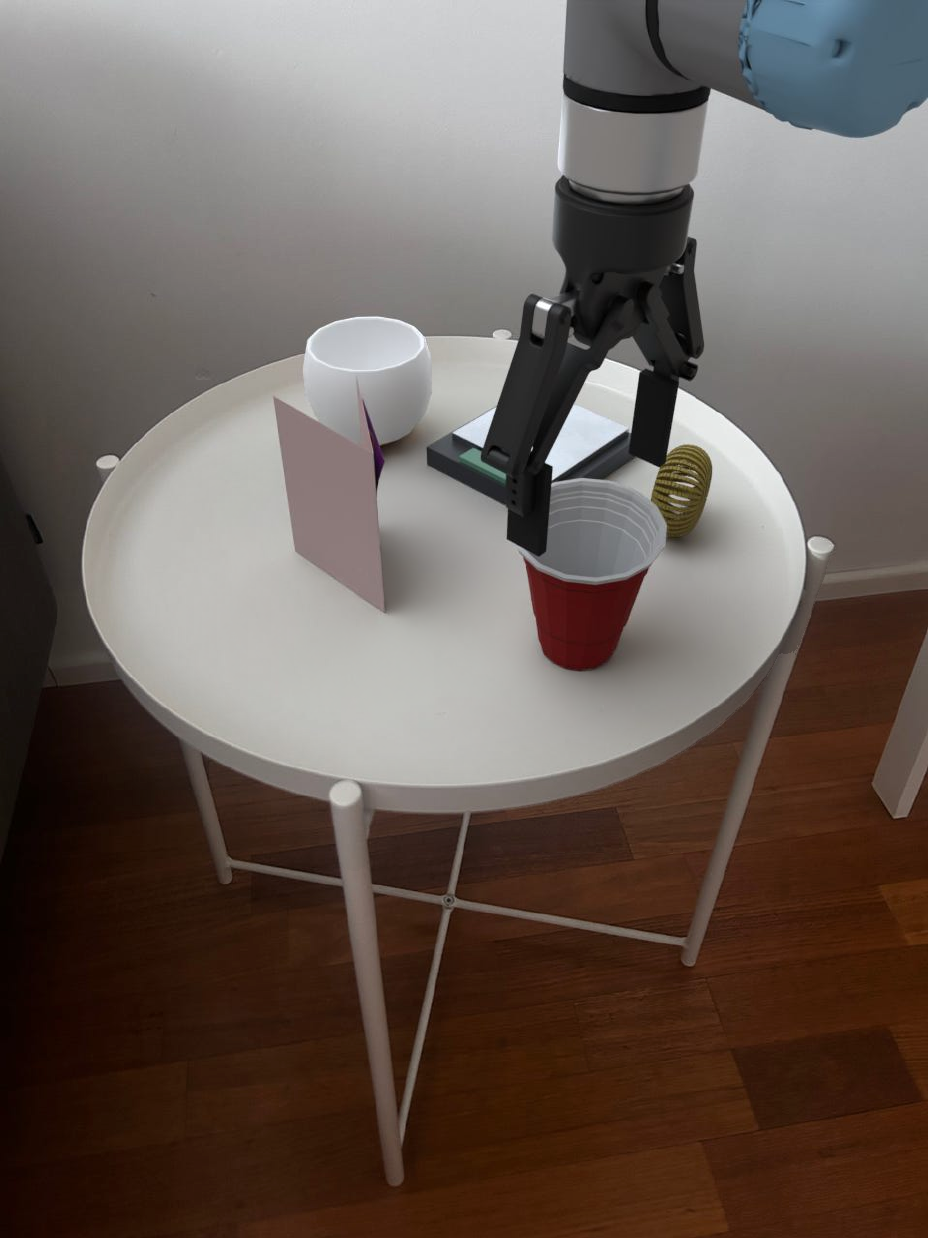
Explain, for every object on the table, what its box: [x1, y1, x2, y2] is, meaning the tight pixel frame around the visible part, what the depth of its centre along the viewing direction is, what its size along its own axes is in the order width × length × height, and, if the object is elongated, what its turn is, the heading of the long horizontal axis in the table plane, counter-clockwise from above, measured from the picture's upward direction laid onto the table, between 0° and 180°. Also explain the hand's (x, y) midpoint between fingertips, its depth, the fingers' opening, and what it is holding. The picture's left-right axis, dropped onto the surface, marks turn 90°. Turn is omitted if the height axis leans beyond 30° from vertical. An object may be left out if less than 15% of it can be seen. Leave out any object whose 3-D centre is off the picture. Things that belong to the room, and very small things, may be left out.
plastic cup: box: [516, 478, 667, 672], centre depth 74 cm, size 11×11×12 cm
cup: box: [302, 316, 433, 447], centre depth 98 cm, size 12×12×10 cm
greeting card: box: [272, 375, 386, 614], centre depth 79 cm, size 11×7×15 cm, turn 11°
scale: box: [426, 403, 635, 506], centre depth 96 cm, size 14×15×3 cm
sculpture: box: [650, 443, 713, 538], centre depth 86 cm, size 8×4×8 cm, turn 155°
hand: (589, 500), depth 69 cm, fingers open, 13 cm apart
